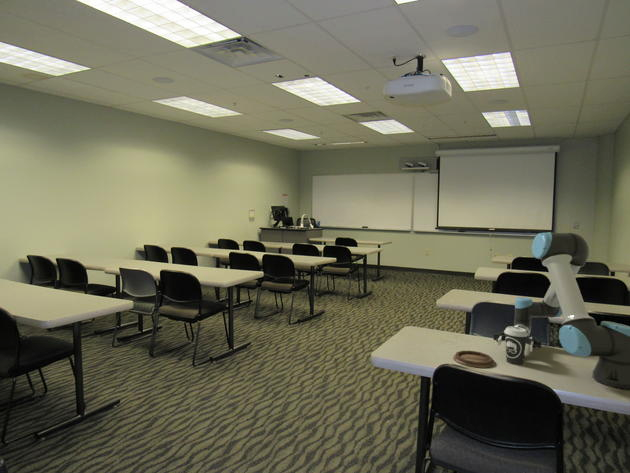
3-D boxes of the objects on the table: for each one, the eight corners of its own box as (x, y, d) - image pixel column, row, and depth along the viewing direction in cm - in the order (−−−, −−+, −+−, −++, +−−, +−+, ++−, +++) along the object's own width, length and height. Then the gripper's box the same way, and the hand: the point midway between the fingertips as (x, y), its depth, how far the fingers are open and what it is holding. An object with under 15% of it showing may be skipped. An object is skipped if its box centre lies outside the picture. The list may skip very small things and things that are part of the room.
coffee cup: (529, 367, 173) (531, 332, 172) (505, 365, 175) (507, 331, 174) (522, 359, 182) (524, 326, 181) (500, 357, 184) (501, 325, 183)
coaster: (501, 368, 171) (501, 363, 171) (462, 367, 171) (462, 363, 170) (484, 354, 188) (484, 350, 188) (447, 353, 187) (448, 349, 187)
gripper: (548, 346, 187) (546, 359, 169) (492, 336, 200) (484, 348, 182) (549, 330, 187) (547, 342, 168) (493, 321, 200) (485, 332, 181)
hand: (514, 345), depth 175 cm, fingers open, 12 cm apart
